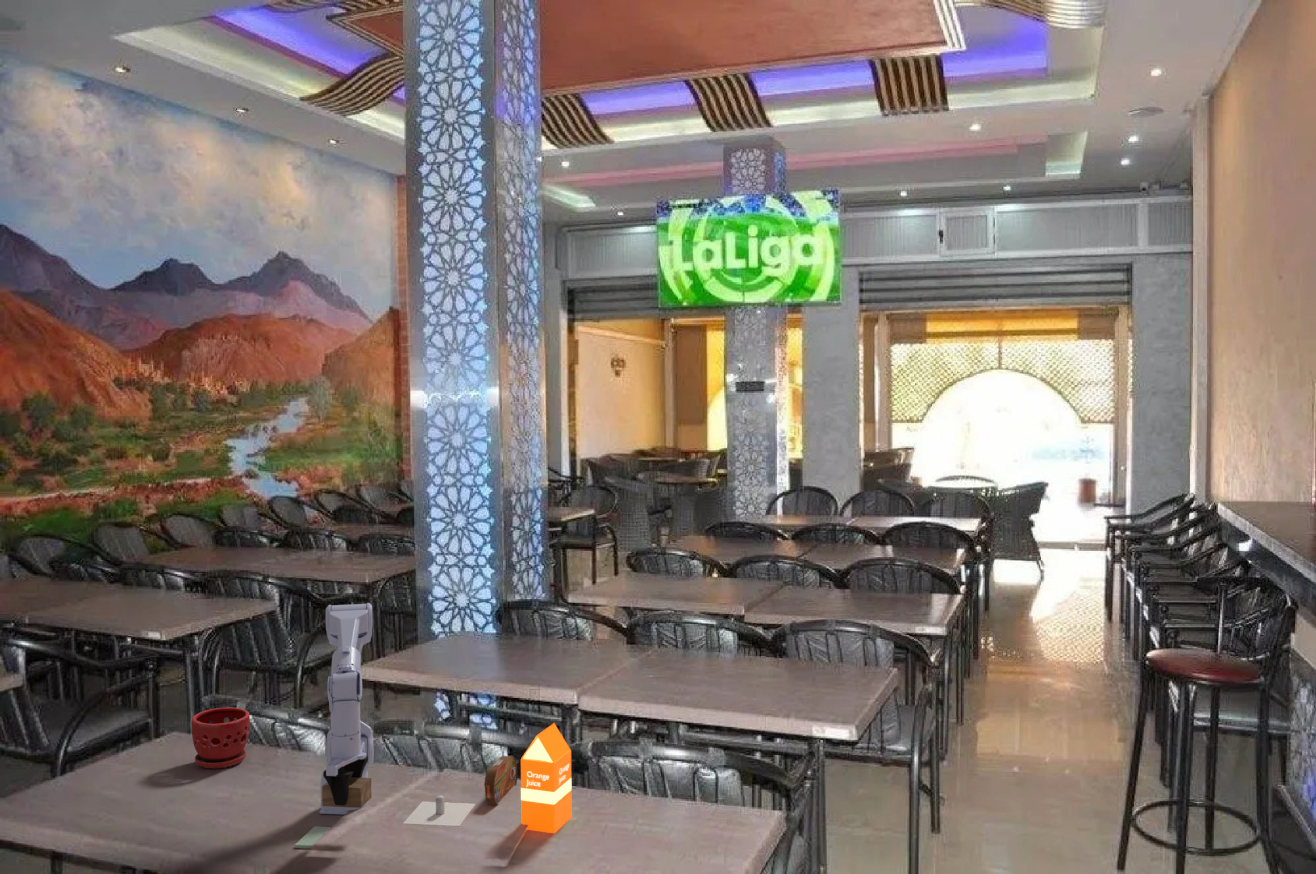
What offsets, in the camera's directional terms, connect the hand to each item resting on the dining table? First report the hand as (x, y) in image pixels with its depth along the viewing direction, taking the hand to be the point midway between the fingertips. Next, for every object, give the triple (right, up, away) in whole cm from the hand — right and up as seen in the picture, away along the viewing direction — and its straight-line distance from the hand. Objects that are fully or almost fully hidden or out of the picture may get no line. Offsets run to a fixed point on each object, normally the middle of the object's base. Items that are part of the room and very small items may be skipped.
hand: (346, 799), depth 214 cm
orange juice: (+39, -8, +9) cm, 41 cm away
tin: (+28, -8, +22) cm, 36 cm away
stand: (+16, -8, +12) cm, 22 cm away
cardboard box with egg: (0, -1, 0) cm, 1 cm away
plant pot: (-44, -7, +46) cm, 64 cm away
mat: (0, -9, 0) cm, 8 cm away
